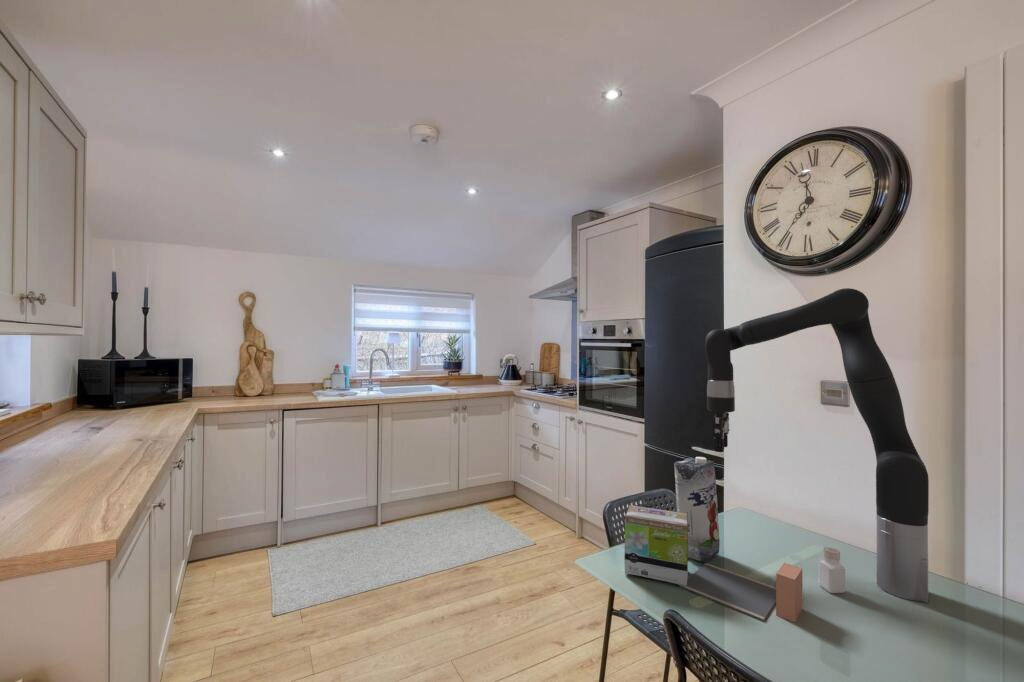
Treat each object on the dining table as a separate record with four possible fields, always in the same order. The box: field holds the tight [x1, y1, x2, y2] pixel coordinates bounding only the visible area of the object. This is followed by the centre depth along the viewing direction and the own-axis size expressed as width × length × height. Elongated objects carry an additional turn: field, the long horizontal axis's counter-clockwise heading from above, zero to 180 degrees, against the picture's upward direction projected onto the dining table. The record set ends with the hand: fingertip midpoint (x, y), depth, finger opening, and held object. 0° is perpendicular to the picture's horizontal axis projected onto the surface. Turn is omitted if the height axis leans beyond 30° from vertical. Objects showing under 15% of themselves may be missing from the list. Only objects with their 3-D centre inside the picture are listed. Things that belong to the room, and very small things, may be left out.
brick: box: [775, 562, 803, 623], centre depth 94 cm, size 4×7×9 cm, turn 135°
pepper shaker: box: [818, 546, 846, 594], centre depth 103 cm, size 4×4×10 cm
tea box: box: [623, 504, 689, 586], centre depth 110 cm, size 15×10×15 cm
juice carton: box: [673, 456, 721, 563], centre depth 121 cm, size 9×10×27 cm
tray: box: [679, 562, 776, 622], centre depth 103 cm, size 18×16×1 cm
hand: (721, 449), depth 129 cm, fingers open, 8 cm apart
